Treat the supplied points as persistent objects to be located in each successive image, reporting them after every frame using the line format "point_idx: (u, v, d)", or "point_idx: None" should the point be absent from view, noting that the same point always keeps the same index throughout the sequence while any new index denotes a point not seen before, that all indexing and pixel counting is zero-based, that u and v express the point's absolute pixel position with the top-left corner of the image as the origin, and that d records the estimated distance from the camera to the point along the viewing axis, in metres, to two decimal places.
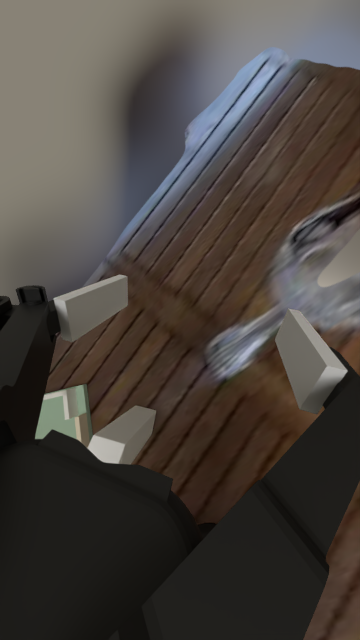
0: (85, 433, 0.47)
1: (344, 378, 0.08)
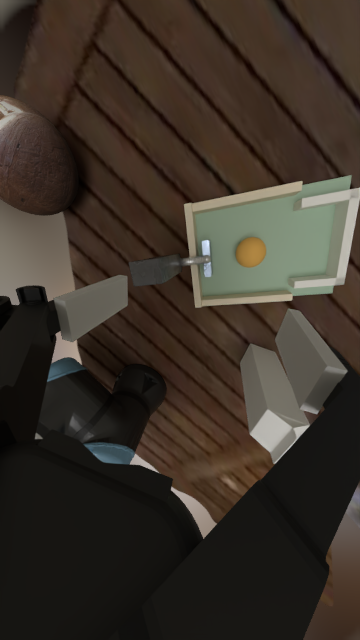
0: None
1: (344, 378, 0.08)
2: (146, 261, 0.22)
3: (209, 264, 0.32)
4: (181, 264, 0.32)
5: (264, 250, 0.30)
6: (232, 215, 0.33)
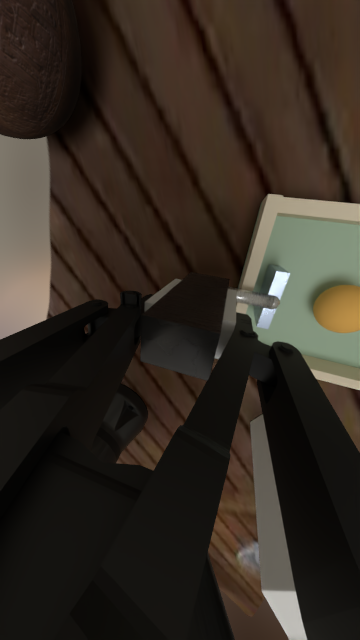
0: None
1: None
2: (186, 328, 0.09)
3: (273, 311, 0.19)
4: None
5: None
6: (333, 236, 0.19)
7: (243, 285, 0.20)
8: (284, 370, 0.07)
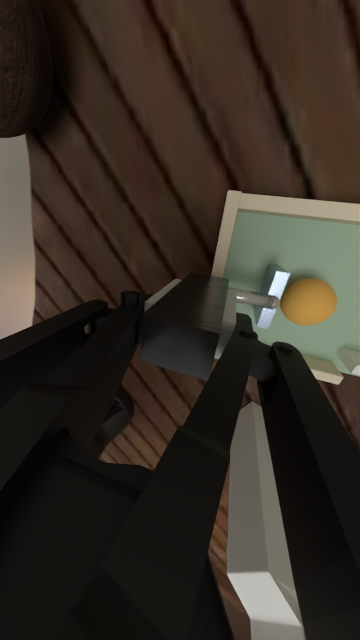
0: None
1: None
2: (186, 328, 0.09)
3: (273, 311, 0.19)
4: None
5: (334, 310, 0.18)
6: (297, 232, 0.19)
7: None
8: (284, 370, 0.07)
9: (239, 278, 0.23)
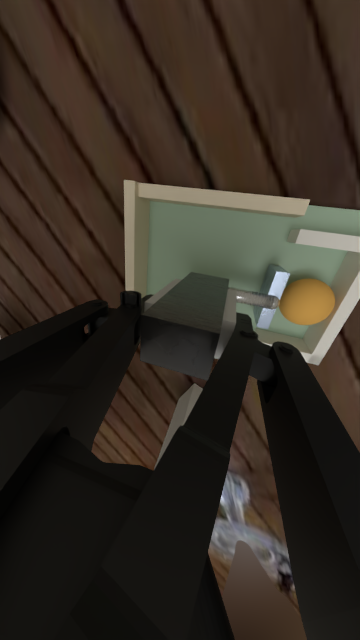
0: None
1: None
2: (186, 328, 0.09)
3: (272, 311, 0.19)
4: None
5: (283, 299, 0.19)
6: (201, 219, 0.21)
7: (126, 262, 0.22)
8: (284, 370, 0.07)
9: (161, 263, 0.25)
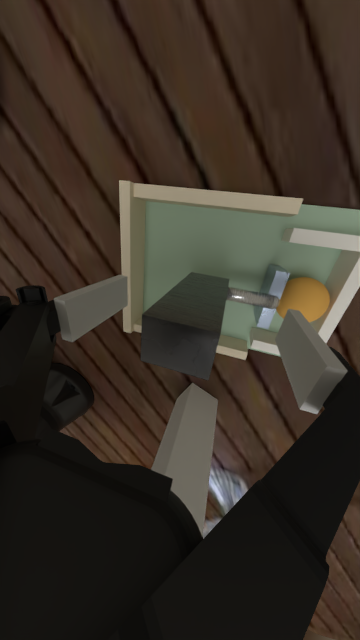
0: None
1: (344, 378, 0.08)
2: (186, 328, 0.09)
3: (273, 311, 0.19)
4: (227, 297, 0.19)
5: None
6: (196, 219, 0.22)
7: (122, 262, 0.22)
8: None
9: (157, 263, 0.25)
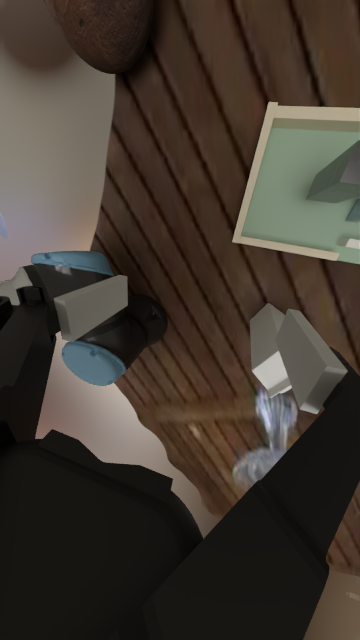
0: None
1: (344, 378, 0.08)
2: None
3: None
4: None
5: None
6: (312, 141, 0.28)
7: (250, 175, 0.29)
8: None
9: (267, 184, 0.32)
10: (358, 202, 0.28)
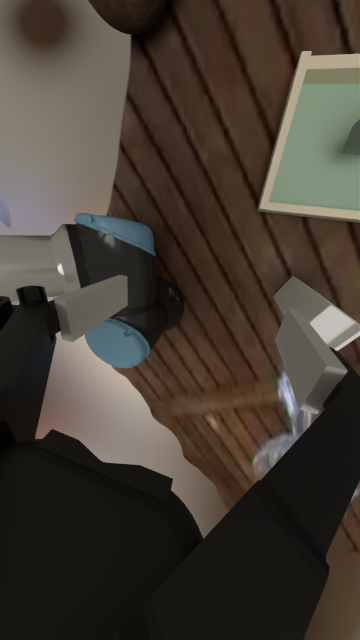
0: (332, 218, 0.32)
1: (344, 378, 0.08)
2: None
3: None
4: None
5: None
6: (343, 96, 0.27)
7: (280, 134, 0.28)
8: None
9: (294, 146, 0.31)
10: None
